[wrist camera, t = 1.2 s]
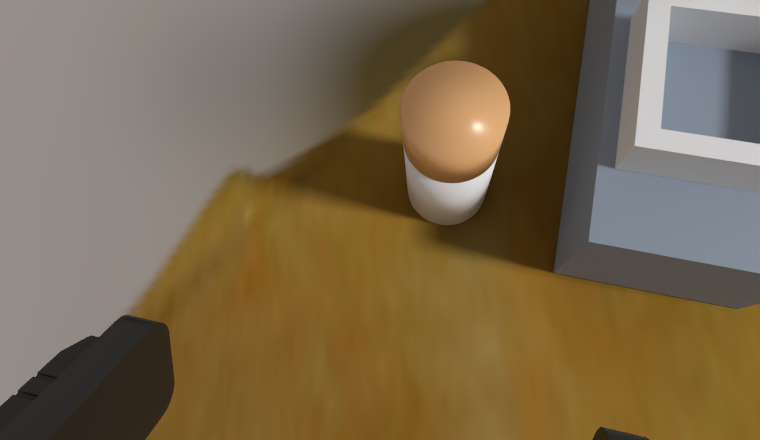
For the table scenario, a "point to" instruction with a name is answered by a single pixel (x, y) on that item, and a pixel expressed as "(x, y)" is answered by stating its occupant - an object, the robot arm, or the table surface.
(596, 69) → the grey box
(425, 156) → the capped container
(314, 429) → the table surface
